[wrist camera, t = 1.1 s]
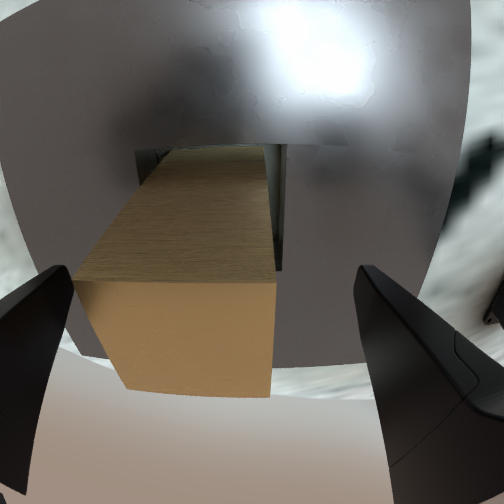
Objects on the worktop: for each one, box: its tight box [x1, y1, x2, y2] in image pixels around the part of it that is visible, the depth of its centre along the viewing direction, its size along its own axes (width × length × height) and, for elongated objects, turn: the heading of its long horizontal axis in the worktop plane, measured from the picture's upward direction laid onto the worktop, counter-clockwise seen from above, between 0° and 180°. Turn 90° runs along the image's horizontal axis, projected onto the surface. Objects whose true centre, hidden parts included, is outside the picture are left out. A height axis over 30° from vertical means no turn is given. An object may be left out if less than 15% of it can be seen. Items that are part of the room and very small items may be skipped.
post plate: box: [0, 0, 471, 368], centre depth 13 cm, size 20×20×2 cm
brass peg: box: [71, 146, 277, 398], centre depth 10 cm, size 4×4×9 cm
